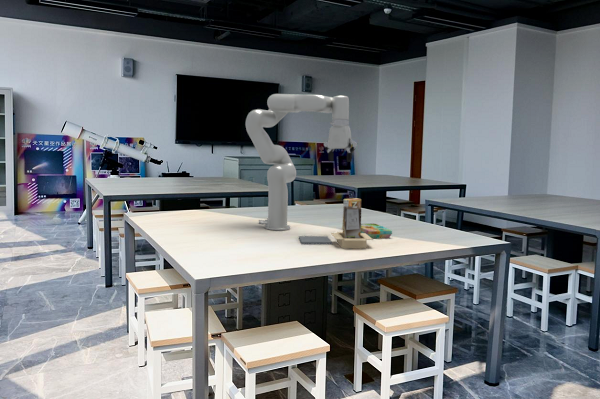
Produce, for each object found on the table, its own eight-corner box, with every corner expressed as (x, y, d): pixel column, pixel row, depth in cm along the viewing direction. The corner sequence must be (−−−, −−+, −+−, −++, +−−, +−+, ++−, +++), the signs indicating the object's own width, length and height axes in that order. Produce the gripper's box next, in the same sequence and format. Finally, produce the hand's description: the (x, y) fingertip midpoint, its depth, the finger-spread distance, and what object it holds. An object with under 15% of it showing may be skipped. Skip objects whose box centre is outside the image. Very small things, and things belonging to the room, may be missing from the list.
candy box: (354, 227, 254) (355, 198, 253) (360, 229, 251) (361, 198, 249) (341, 229, 249) (343, 198, 247) (347, 230, 246) (349, 199, 244)
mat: (301, 244, 210) (301, 241, 210) (298, 238, 223) (298, 236, 223) (332, 244, 211) (332, 242, 211) (327, 238, 224) (327, 236, 224)
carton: (336, 249, 202) (337, 239, 201) (329, 240, 220) (330, 231, 219) (373, 249, 203) (374, 239, 203) (363, 240, 221) (363, 231, 221)
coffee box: (360, 247, 207) (362, 209, 206) (345, 247, 207) (346, 208, 205) (356, 242, 216) (357, 206, 215) (341, 242, 216) (343, 205, 214)
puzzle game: (368, 229, 225) (353, 222, 245) (367, 239, 226) (352, 231, 245) (392, 229, 228) (375, 221, 247) (391, 239, 229) (375, 231, 248)
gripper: (319, 123, 228) (319, 161, 230) (352, 122, 218) (352, 162, 219) (328, 124, 234) (328, 161, 236) (361, 123, 224) (360, 161, 225)
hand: (339, 161), depth 228 cm, fingers open, 9 cm apart
